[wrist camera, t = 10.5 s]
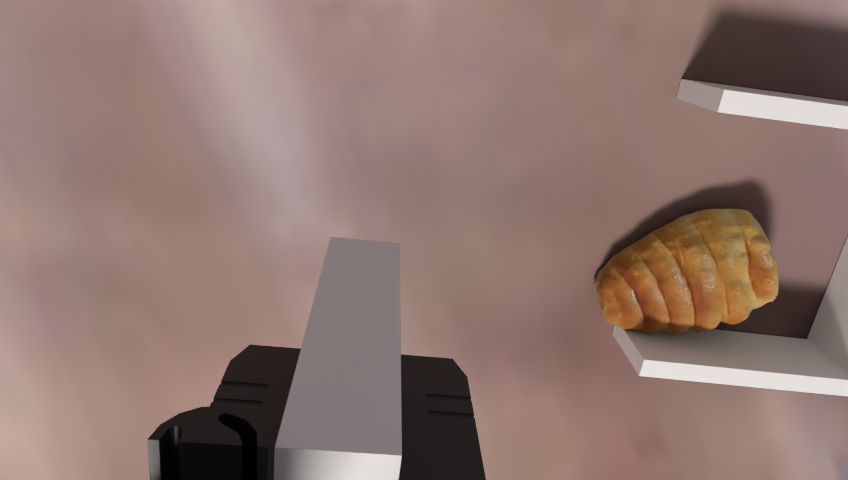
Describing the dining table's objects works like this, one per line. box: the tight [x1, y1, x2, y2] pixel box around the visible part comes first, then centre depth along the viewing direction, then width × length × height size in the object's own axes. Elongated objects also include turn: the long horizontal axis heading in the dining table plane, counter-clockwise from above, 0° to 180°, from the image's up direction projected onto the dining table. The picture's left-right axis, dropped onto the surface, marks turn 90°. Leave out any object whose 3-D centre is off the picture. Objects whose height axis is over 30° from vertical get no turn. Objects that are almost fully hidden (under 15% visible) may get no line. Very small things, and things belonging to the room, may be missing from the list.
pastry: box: [594, 209, 779, 334], centre depth 34 cm, size 9×7×4 cm
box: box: [612, 79, 848, 396], centre depth 32 cm, size 15×13×4 cm
